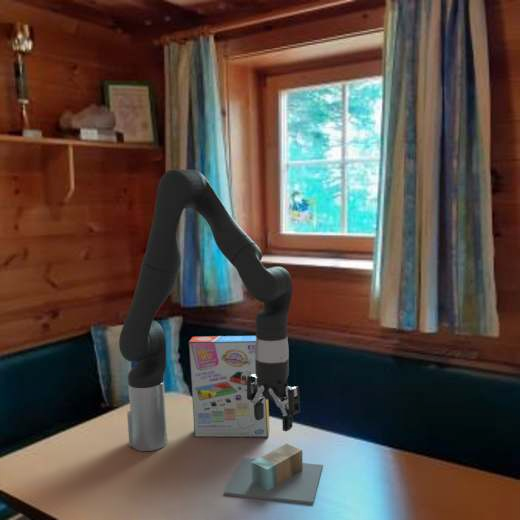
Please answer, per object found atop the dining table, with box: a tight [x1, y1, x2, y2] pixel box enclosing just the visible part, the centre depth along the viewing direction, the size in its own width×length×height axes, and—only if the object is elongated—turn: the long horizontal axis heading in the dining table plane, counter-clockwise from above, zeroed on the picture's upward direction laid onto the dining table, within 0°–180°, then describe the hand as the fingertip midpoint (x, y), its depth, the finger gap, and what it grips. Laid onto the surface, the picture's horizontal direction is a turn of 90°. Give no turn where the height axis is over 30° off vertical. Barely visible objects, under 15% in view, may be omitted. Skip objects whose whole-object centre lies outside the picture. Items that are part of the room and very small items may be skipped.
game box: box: [188, 335, 270, 438], centre depth 152 cm, size 21×6×27 cm, turn 84°
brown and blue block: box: [251, 443, 304, 490], centre depth 129 cm, size 5×5×12 cm
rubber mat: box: [223, 457, 324, 505], centre depth 129 cm, size 20×16×1 cm
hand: (273, 424), depth 127 cm, fingers open, 8 cm apart
